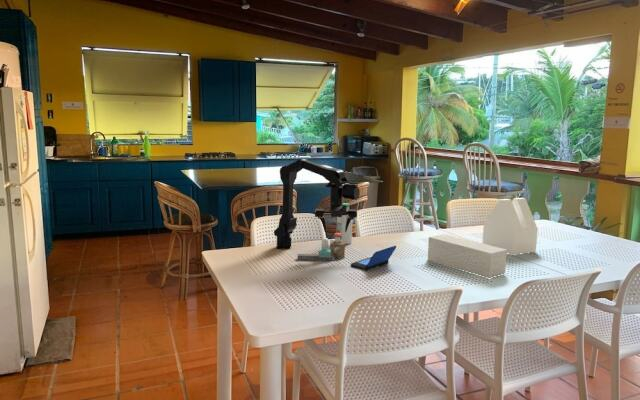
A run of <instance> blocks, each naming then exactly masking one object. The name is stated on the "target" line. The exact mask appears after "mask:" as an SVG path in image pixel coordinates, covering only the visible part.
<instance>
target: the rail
mask: <svg viewBox="0 0 640 400" xmlns="http://www.w3.org/2000/svg"><path fill="white" fill-rule="evenodd" d="M297 261H335V258H334V254H331V257H319V253H297Z"/></svg>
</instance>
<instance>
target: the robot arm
mask: <svg viewBox="0 0 640 400" xmlns="http://www.w3.org/2000/svg"><path fill="white" fill-rule="evenodd" d="M303 169H304V170H306V171H309V172H311V173H314V174H316V175H319V176H321V177H323V179H325V180H326V181H328V183H327V184H326V185H325V188H329V210H324V208H315V210H314V217H315V218H317V219H318V220H320V221H321V224H322V226H323V231H324V232H325V233H326V232H327V231H326V230H327V228H326V220H325V216H330V217H331V218H337V217H342V215H347V218H346V225H345V232H346V231H347V228H348V225H349V223H350V221H351V220H352V221H353V220H354V219H355V218H358V212H357V210H356V209H354V208H353V209H352V208H351V209H350V208H349V209H348V211H347V207H346V206H342V203H343V199H344V200H345V199H346V200H354V201H357V200H358V199H359V198H360V194H361V191H360V188H359V185H358V183H353V184H352V183H350V182H349V180H348V178H347V177H346V175H345V174H346V173H345V172H344V170H343V169H340V168H334V167H327V166H324V165H321V164H319V163H316V162H313V161H310V160H308V159H307V158H299V159H297V160H295V161H294V162H292V163H289V164H287V165H283V166H282V167H280V169H279V178H280V180H281V181H280V182H282V212H281V217H280V218H279V220H278V221H279V222H278V226H277V227H276V229H274V231H273V234H274V236H275V237H276V249H277V250H279V249H281V250H286V249H287V250H290V249H291V247H292V236H291V234H293V233H294V230H296V227H297V226H298V223H297V222H298V220H297V219H298V217H295V216H294V214H293V210H294V209H293V208H294V207H293V206H294V184H295V182H296V180H297V177H298V173H299V172H300V171H302V170H303Z"/></svg>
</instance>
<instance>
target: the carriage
mask: <svg viewBox="0 0 640 400" xmlns="http://www.w3.org/2000/svg"><path fill="white" fill-rule="evenodd" d="M318 254H319V257H331V250H330V247H329V238H327V237H322V239H321V248H318Z"/></svg>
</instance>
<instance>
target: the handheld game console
mask: <svg viewBox="0 0 640 400" xmlns="http://www.w3.org/2000/svg"><path fill="white" fill-rule="evenodd" d="M396 248H397V245H393V246H392V245H391V246H389V247H386V248H383V249H381V250H378V251H375V252H374V253H373V254H372V256H370V257H366V258H364V259H361V260H357V261H354V262H351V263H350V267H352V268H356V269H357V270H358V269H359V270H363V271H366V272H367V271H370V270H373V269H375V268H377V267H382V266H385V265H388V264H389V260H390V258H391V256H392V255H393V253H394V252H395V250H396Z"/></svg>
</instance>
